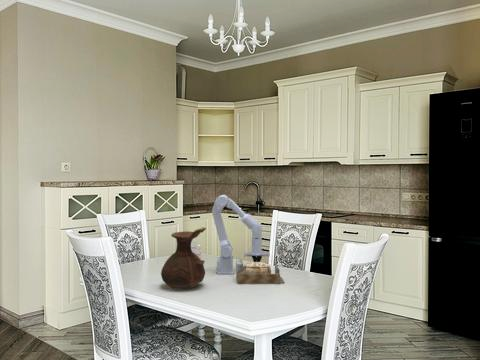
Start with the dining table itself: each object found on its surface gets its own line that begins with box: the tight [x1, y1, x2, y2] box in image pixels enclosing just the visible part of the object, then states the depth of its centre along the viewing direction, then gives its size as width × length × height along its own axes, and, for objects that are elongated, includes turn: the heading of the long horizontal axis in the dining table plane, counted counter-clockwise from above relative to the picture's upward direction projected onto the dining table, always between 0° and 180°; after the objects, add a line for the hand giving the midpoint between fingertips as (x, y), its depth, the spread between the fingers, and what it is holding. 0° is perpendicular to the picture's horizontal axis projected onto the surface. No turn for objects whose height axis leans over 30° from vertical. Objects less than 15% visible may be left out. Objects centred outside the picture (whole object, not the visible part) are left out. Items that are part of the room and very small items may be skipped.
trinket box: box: [243, 261, 272, 274], centre depth 247 cm, size 13×15×8 cm
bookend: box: [274, 264, 286, 284], centre depth 238 cm, size 4×12×7 cm, turn 3°
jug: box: [160, 227, 207, 290], centre depth 224 cm, size 22×22×30 cm
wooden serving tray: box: [235, 259, 281, 285], centre depth 237 cm, size 22×13×10 cm, turn 93°
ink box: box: [191, 240, 202, 260], centre depth 280 cm, size 9×5×15 cm, turn 71°
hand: (256, 269), depth 255 cm, fingers closed
